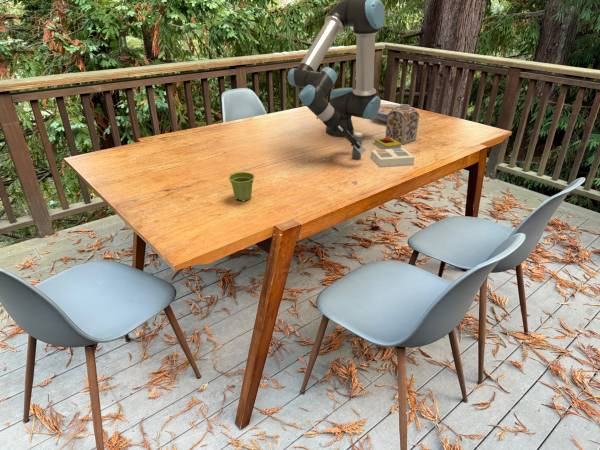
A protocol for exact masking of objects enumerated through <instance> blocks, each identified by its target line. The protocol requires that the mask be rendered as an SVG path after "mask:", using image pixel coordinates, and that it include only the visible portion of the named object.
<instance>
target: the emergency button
mask: <svg viewBox="0 0 600 450" xmlns="http://www.w3.org/2000/svg"><path fill="white" fill-rule="evenodd" d="M372 145H374V146H376V147H377V148H379V149H394V148H402V144H401V143H399V142H397V141H396V140H394V139H392V138H390V137H386V138H385V137H379V138H375V139H374V141H373V142H372Z"/></svg>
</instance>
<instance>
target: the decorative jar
mask: <svg viewBox="0 0 600 450" xmlns="http://www.w3.org/2000/svg"><path fill="white" fill-rule="evenodd" d="M400 104H401V105H400ZM400 104H399V105H400V107H395V108H393V109H392V110H391V111H390V112H389V113H388V119H387V123H386V127H385V136H384V138H386V137H390V138H392V139H394V140H396V141H397V142H399V143H401V146H403V145H405V144H409V143H411V142H415V141H416V138H417V133H418V128H419V122H420V121H419V120H420V113H419V112H418V110H416V109H415V108H414V107H411V106H410V104H407V103H406V104H405V103H400Z"/></svg>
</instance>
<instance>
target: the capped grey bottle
mask: <svg viewBox="0 0 600 450" xmlns="http://www.w3.org/2000/svg"><path fill="white" fill-rule="evenodd" d="M363 134H364V132H361V131H355V132H354V133H353V138H354V139H355V140H357V141H358V142H359V143H360V144H361V145H363V136H364V135H363ZM351 152H352V155H351V159H352V160H354V161H358V160H359V161H360V160H361V157H362V154H361V153H360V152H359V151H358V150H357V149H356V148H355V147H354V146H352V151H351Z"/></svg>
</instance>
